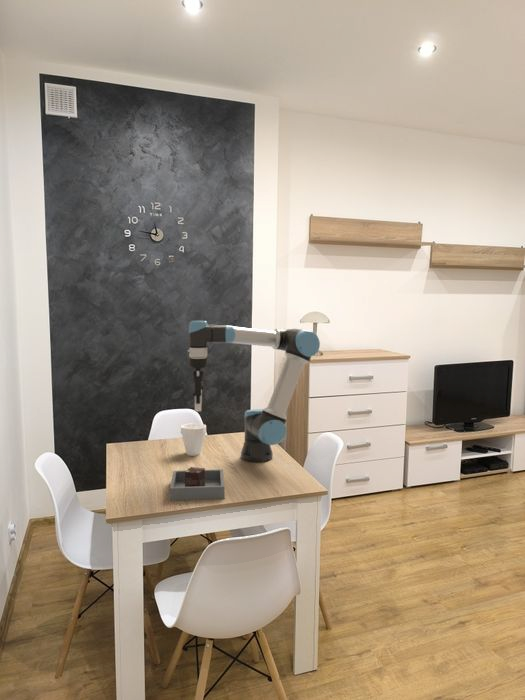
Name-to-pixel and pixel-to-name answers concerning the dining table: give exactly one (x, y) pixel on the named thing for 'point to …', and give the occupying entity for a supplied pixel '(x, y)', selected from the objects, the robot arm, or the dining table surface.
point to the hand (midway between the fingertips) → (198, 407)
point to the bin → (209, 491)
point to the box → (195, 477)
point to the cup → (193, 437)
